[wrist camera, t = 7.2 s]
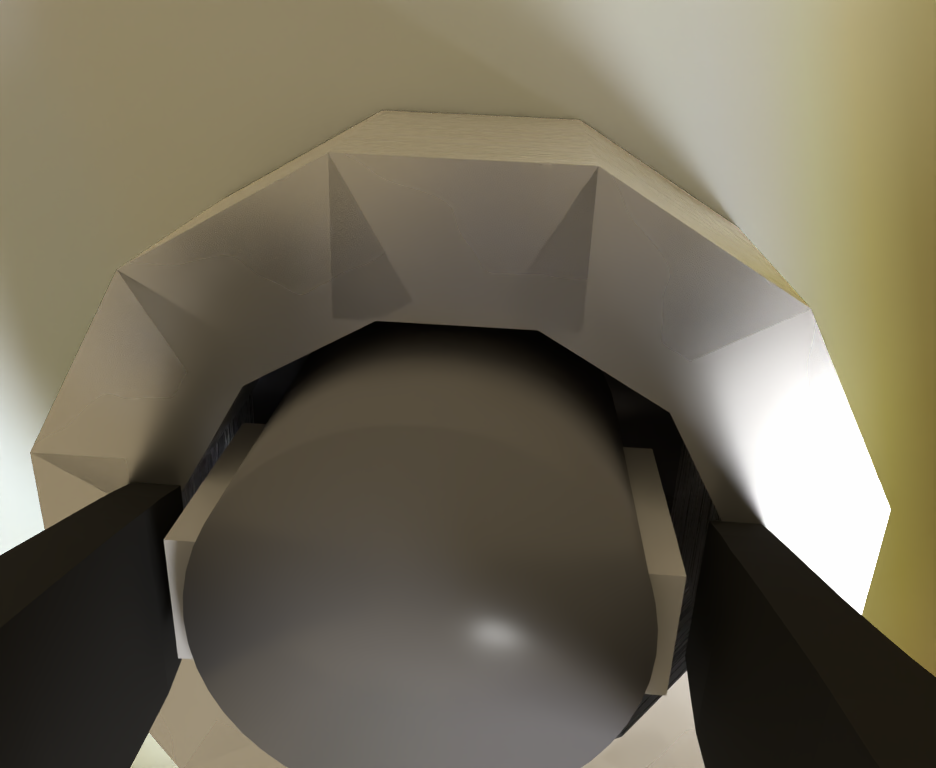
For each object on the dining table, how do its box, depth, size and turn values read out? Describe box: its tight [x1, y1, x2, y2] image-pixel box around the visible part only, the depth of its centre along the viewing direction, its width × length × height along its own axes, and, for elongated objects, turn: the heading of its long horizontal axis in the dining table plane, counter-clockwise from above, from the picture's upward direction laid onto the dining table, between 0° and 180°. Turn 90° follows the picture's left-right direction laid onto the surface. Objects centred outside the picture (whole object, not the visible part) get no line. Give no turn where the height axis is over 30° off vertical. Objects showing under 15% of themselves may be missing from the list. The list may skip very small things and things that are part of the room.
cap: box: [164, 321, 687, 768], centre depth 11 cm, size 6×5×4 cm
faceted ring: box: [30, 110, 891, 768], centre depth 12 cm, size 10×10×4 cm
